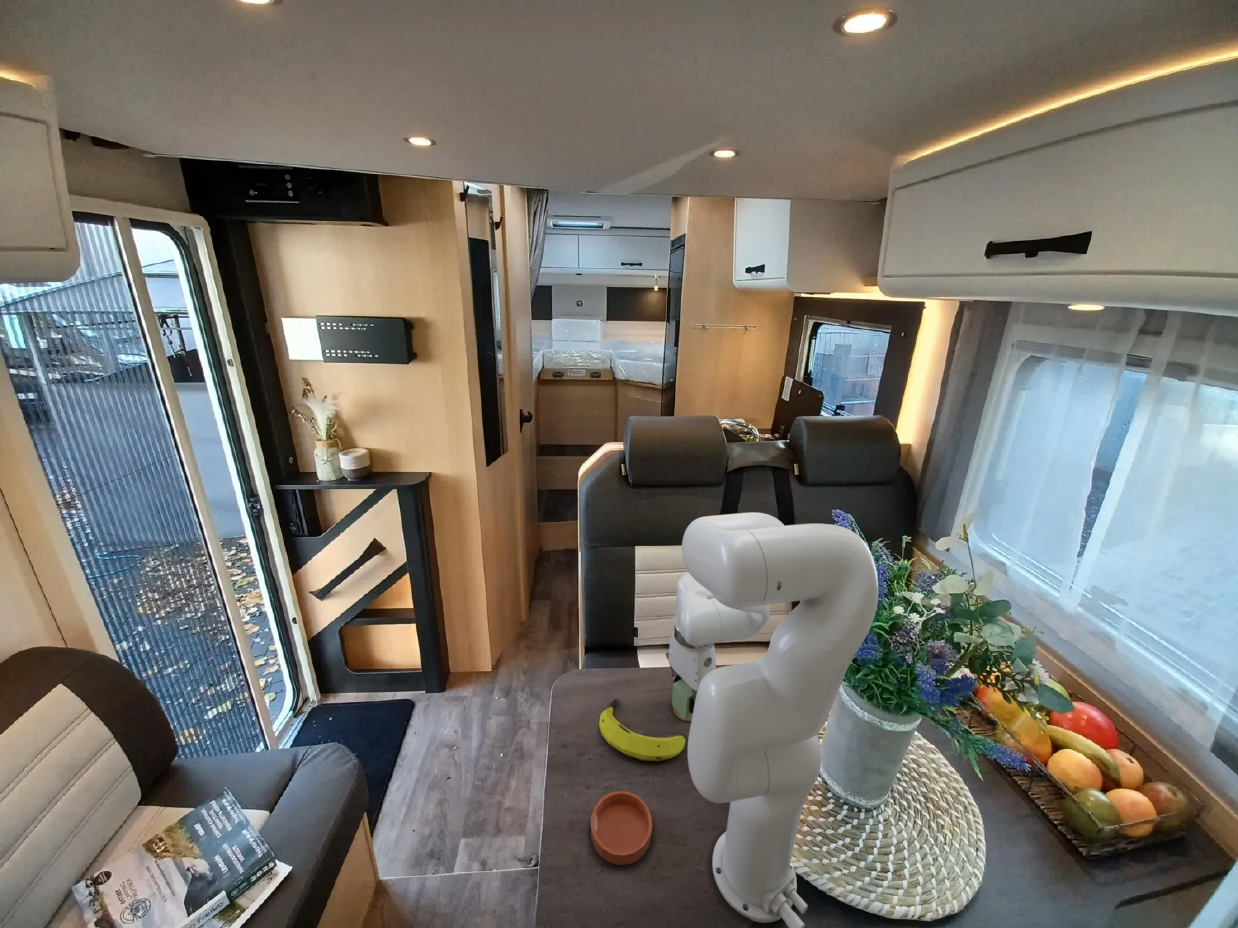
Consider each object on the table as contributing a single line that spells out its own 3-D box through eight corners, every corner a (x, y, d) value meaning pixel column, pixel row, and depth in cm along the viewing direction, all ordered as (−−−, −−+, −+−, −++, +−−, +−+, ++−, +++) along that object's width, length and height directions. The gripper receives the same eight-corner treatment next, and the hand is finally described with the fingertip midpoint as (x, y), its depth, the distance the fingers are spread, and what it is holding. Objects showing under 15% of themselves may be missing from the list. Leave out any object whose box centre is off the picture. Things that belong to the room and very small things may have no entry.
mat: (706, 712, 103) (707, 711, 102) (685, 725, 99) (685, 724, 99) (688, 693, 107) (688, 692, 107) (667, 705, 104) (667, 704, 104)
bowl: (663, 842, 79) (664, 830, 78) (611, 881, 74) (611, 869, 72) (629, 791, 87) (629, 779, 86) (579, 823, 81) (579, 811, 80)
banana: (690, 750, 90) (681, 695, 104) (598, 743, 90) (601, 689, 104) (688, 770, 91) (679, 713, 105) (596, 764, 90) (600, 708, 105)
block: (701, 710, 103) (703, 688, 101) (685, 720, 100) (687, 698, 98) (687, 695, 106) (689, 674, 104) (671, 704, 104) (672, 683, 102)
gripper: (737, 650, 91) (728, 721, 98) (680, 603, 105) (675, 668, 111) (708, 666, 88) (701, 739, 94) (652, 615, 101) (649, 682, 107)
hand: (687, 700), depth 103 cm, fingers closed on block, 4 cm apart
